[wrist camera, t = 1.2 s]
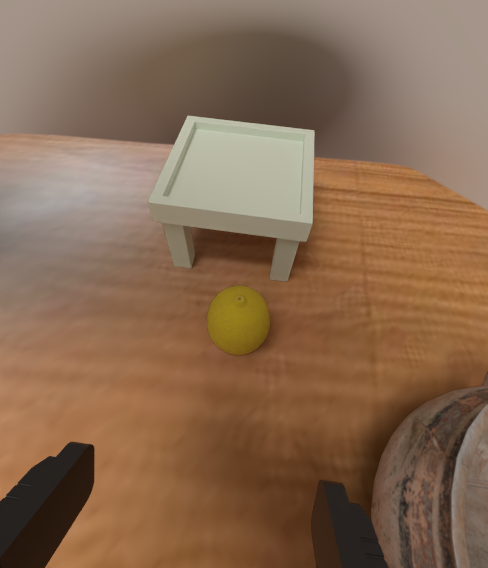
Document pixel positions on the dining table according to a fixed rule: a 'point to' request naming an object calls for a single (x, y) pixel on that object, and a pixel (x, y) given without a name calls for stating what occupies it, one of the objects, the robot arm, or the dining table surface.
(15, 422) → the dining table surface
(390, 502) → the cooking pot
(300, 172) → the stool
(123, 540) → the dining table surface
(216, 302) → the lemon
